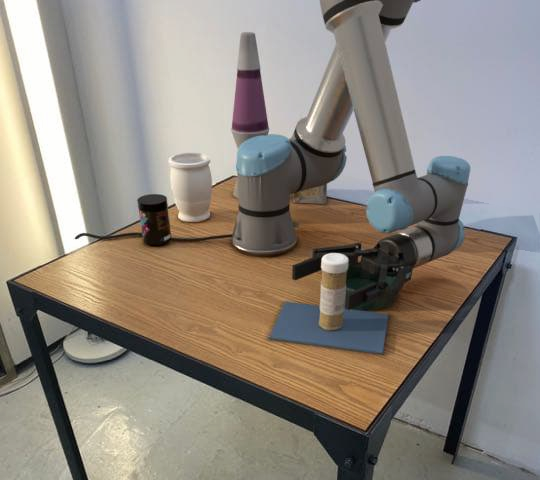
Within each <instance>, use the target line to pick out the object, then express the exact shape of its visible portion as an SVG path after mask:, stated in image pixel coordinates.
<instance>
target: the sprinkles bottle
mask: <svg viewBox="0 0 540 480" xmlns="http://www.w3.org/2000/svg"><path fill="white" fill-rule="evenodd" d="M321 268H322V270H321V282H320V295H319V296H320V297H319V306H320V320H319V326H320V327H322V328H323V329H325V330H330V331H334V330H338V329H340V328H342V326H343V313H344V309H345V308H344V307H345V295H346V274H347V269H348V258H347V256H345V255H343V254H339V253H329V254H326V255H324V256H323V257H322V261H321Z"/></svg>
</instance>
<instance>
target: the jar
mask: <svg viewBox="0 0 540 480" xmlns="http://www.w3.org/2000/svg"><path fill="white" fill-rule="evenodd" d="M167 160H168V162H167V163H168V165H169V166H170V171H169V182H170V188H171V192H172V196H173V199H174V200H173V201H174V204H175V206H176V208H177V210H178V211H179V212H178V214H177V217H178V219H179V220H181V221H182V222H186V223H187V222H188V223H198V222H204V221H206V220H207V219H210V217H211V212H210V211H209V208H210V207H211V202H212V191H213V179H212V178H213V177H212V172H211V167H210V166H209V164H210V163H211V157H210V155H208V154H207V153H202V152H183V153H177V154H174V155H172V156H170V157H168V158H167Z"/></svg>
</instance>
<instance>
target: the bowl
mask: <svg viewBox="0 0 540 480" xmlns="http://www.w3.org/2000/svg"><path fill="white" fill-rule="evenodd" d="M360 262H361V260H358V264H360ZM394 279H395V277H389V276H387V278H386V287H390V285H391V284H392V282H393V280H394ZM373 282H375V283H377V287H378V284H379V275H376V274H375V275H373V274H371V273H370V272H368V271H365V270H355V269H353V267H348V269H347V274H346V294H348V293H350V292H352V291H355V290H357V289H359V288H361V287H364V286H366V285H368V284H370V283H373ZM393 303H394V302H390V301H388V298H385V297H384V298H383V299H379V298H378V299H376V300H374V301H372V302H368V303H367V302H365V303H363V304H361V305H359V306H357V307H354V308H352V309H351V310H360V311H368V312H373V311H377V310H378V311H379V310H382V309H385V308H387V307H389V306H391V305H392V304H393ZM345 305H346V295H345ZM344 309H345V307H344Z"/></svg>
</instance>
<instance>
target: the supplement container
mask: <svg viewBox="0 0 540 480" xmlns="http://www.w3.org/2000/svg"><path fill="white" fill-rule="evenodd" d="M167 197H168V196H166V195H164V194H159V193H150V194H144V195H141V196H139V197H138V198H137V200H136V201H137V208H138V214H139V220H140V227H141V233H142V235H143V236H142V241H143V243H144V244H145V245H146V246H148V247H151V248H159V247H164V246H167V245H169V244H170V242H172V241H171V238H172V231H171V221H170V213H169V204H168V198H167Z"/></svg>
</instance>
